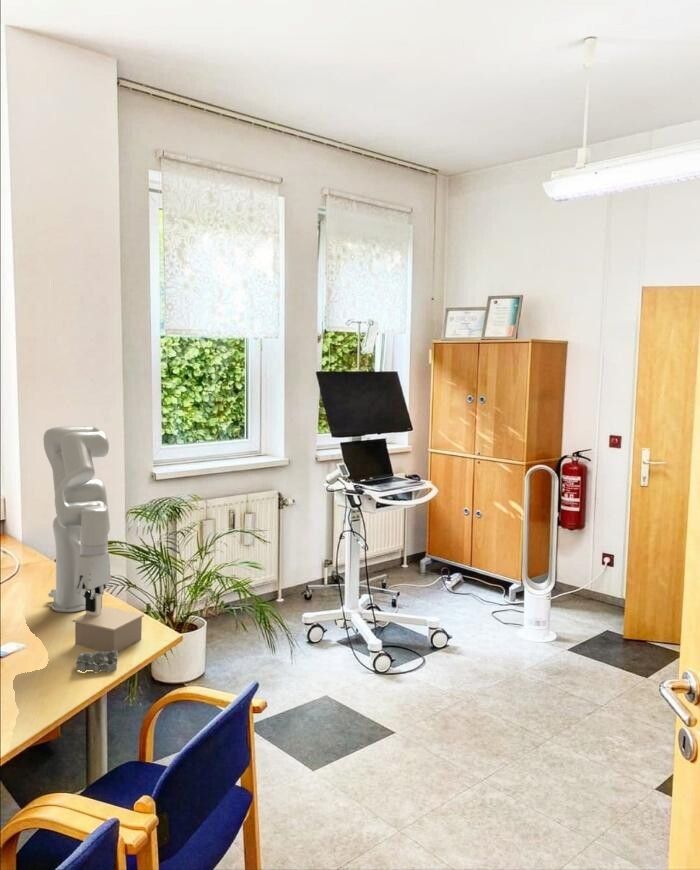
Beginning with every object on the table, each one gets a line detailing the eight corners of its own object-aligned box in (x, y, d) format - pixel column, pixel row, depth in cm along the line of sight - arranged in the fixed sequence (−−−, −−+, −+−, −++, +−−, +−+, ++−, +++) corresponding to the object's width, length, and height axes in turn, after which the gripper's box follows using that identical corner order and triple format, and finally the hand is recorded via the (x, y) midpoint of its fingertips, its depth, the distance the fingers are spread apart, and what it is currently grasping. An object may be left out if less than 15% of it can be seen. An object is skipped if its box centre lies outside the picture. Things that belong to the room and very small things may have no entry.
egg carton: (74, 676, 187) (74, 661, 186) (78, 663, 194) (78, 649, 194) (116, 673, 189) (116, 658, 189) (119, 661, 197) (119, 647, 196)
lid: (72, 621, 205) (72, 599, 204) (103, 607, 217) (103, 586, 216) (114, 631, 199) (114, 608, 198) (143, 616, 211) (144, 595, 210)
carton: (75, 644, 206) (75, 622, 205) (103, 630, 217) (104, 609, 216) (114, 654, 200) (114, 631, 200) (141, 639, 212) (141, 617, 211)
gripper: (102, 541, 216) (102, 599, 218) (63, 553, 202) (63, 615, 204) (122, 544, 214) (121, 603, 216) (84, 557, 199) (84, 620, 201)
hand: (93, 609), depth 210 cm, fingers closed on lid, 2 cm apart
